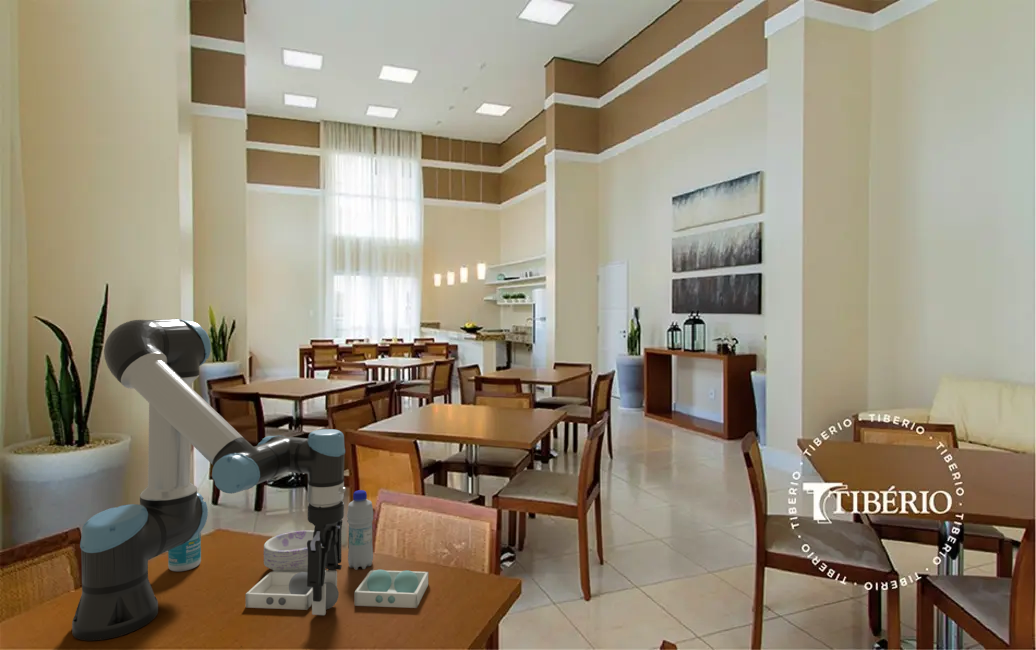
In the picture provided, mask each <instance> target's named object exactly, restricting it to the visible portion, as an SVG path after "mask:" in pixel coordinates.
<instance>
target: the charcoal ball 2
mask: <svg viewBox="0 0 1036 650" xmlns="http://www.w3.org/2000/svg"><path fill="white" fill-rule="evenodd" d="M324 583H326V610H329V609H331V608H333V607H334V606H335V604H336V603H337V602H338V599H339V595H340V594H339V593H340V592H339V589H338V586H337V587H336V586H335V585H334V584H333V583H330V582H324Z"/></svg>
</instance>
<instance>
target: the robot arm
mask: <svg viewBox="0 0 1036 650" xmlns="http://www.w3.org/2000/svg"><path fill="white" fill-rule="evenodd" d="M211 350H212V344H211V339H210V337H209V335H208V333H207V331H206V330H205V329H203V327H202V326H201V324H199V323H197V322H195V321H193V320H190V319H179V318H169V319H166V318H165V319H162V318H161V319H133V320H129V321H126V322H123V323H122V324H119V325H118V326H116V327H115V328H114V329H113V330H112V331H111V332H110V333H109V335H108V337H107V339H106V340H105V344H104V348H103V357H104V361H105V363H106V366H107V368H108V370H109V371H110V373H111V374H112V376H113V377H114V378H115V379H116V380H117V381H118V382H119V383H120V384H121V385H122V386H123V387H124V388H127V389H135V390H136V392H137V393H138V394H139V395H141V397H142V398H143V399H145V400H146V401H147V403H148V451H147V452H148V453H147V455H148V460H147V461H148V464H147V465H148V466H147V467H148V468H147V487H145V489H143V490H142V491H141V492H140V494H139V504H138V503H137V504H135V503H131V504H130V503H129V504H123V505H119V506H117V507H111V508H106V510H102V511H100V512H98V513H96V514H94V515H92V516H91V517H90V518H89V519H87V521H85V523H84V524H83V526H82V528H81V535H80V536H81V539H80V542H79V548H80V551H81V552H80V554H81V596H80V598H79V601H78V604H77V607H76V609H75V614H74V616H73V619H72V623H71V631H72V632H71V634H72V636H73V637H74V638H75V639H77V640H79V641H81V640H82V641H87V642H88V641H91V642H93V641H104V640H109V639H113V638H117V637H121V636H124V635H128V634H130V633H132V632H134V631H137V630H139V629H141V628H143V627H145V626H146V625H148V624H149V623H151V622H152V621H153V620H155V618H156V617H157V615H158V614H159V601H158V598H157V596H156V595H155V594H154V590H153V588H152V585H151V583H150V580H149V561H150V560H151V559H154V558H155V557H158V556H160V555H162V554H164V553H166V552H168V551H169V550H171V549H173V548H175V547H177V546H181V545H183V544H185V543H187V542H188V541H189V540H190V539H192V538H194V537H196V536H197V535H198V534H199V533H200V532H202V531H203V529H204V528H205V526H206V523H207V520H208V517H209V515H208V514H209V512H208V508H209V507H208V505H207V501H205V500H204V497H203V495H202V494H201V493H199V492H198V487H197V486H196V485H195V484H194V483H192V482H191V452H192V451H191V450H192V446H193V447H194V448H195V449H196V450H197V451H198V452H199V453H200V454H201V455H202V456H203V457H204V458H205V459H206V460H207V461H208V462H209V463H210V464H211V465H212V466H213V467H212V470H211V471H212V472H211V478H212V480H213V481H214V485H215V486H216V488H217V489H218V490H219V491H221V492H223V493H226V494H236V493H239V492H243V491H246V490H249V489H253V488H254V487H255V486H257V485H259V484H262V483H264V482H266V481H269V480H271V479H274V478H276V477H279V476H281V475H283V474H286V473H294V474H295V473H297V474H306V475H307V502H308V504H307V521H308V522H309V523H310V524H312V525H313V526H314V528H313V531H314V532H313V540H308V542H307V549H308V571H307V586H308V587H312V605H311V615H313V616H315V615H316V616H325V615H326V613H327V611H326V610H327V609H326V583H324V582H330V583H333V584H334V585H335V586H336V587H337V588H338V570H339V571H340V570H341V569H342V564H341V563H342V530H343V528H342V527H343V518H344V516H345V514H344V513H345V503H344V501H343V500H344V498H345V496H344V495H345V492H346V490H347V488H346V487H345V454H346V448H345V435H344V433H343V431H340V430H338V429H332V428H331V429H329V428H327V429H325V428H324V429H323V428H322V429H317V430H316V429H315V430H312V431H311V432H310V433H309V434H308V437H307V438H305V437H293V436H285V435H267V436H265V437H264V438H261V439H262V440H260V442H258V444H257V445H256V446H253V445H252V444H251V443H250V442H249V441H248V440H247V439H246V438H245V437H243V436H242V434H240V432H238V430H236V428H234V426H232V425H231V424H230V423H229V422H228V420H226V419H225V418H224V417H223V416H222V415H221V414H220V413H218V412H217V410H216V409H214V408H213V406H211V405H210V404H209V403H208V402H207V401H206V400H205V399H204V398H203V397H202V396H201V395H200V394H199V393H197V392H196V390H194V389H193V386H192V385H193V382H195V381H196V380H197V379H198V378H199V377H200V366H202V365H204V364H205V363H206V362H207V360H208V359H209V357H210V355H211ZM323 547H324V548H323Z"/></svg>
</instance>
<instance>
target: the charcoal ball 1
mask: <svg viewBox="0 0 1036 650" xmlns="http://www.w3.org/2000/svg"><path fill="white" fill-rule="evenodd" d="M311 588H312V587H308V586H307V572H299V573H297V574H295V575H294V576H293V577H292V578H291V580H290V582H289V591H290V593H291V594H301V595H306V594H307V593H308V592H309V591H310V589H311Z"/></svg>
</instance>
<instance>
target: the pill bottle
mask: <svg viewBox="0 0 1036 650" xmlns="http://www.w3.org/2000/svg"><path fill="white" fill-rule="evenodd" d="M201 532H202V531H201ZM201 532H200V533H199V534H198V535H197V536H196V537H194V538H192V539H190V540H189V541H188V542H187V543H185V544H183V545H181V546H177V547H175V548H173V549H171V550H169V551H167V554H168V555H167V556H168V557H167V559H168V560H167V562H168V563H167V564H168V565H167V567H168V569H169V570H170V571H172V572H185V571H189V570H192V569H195V568H197V567H198V566H199V565H201V562H202V543H201V542H202V533H201Z"/></svg>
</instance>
